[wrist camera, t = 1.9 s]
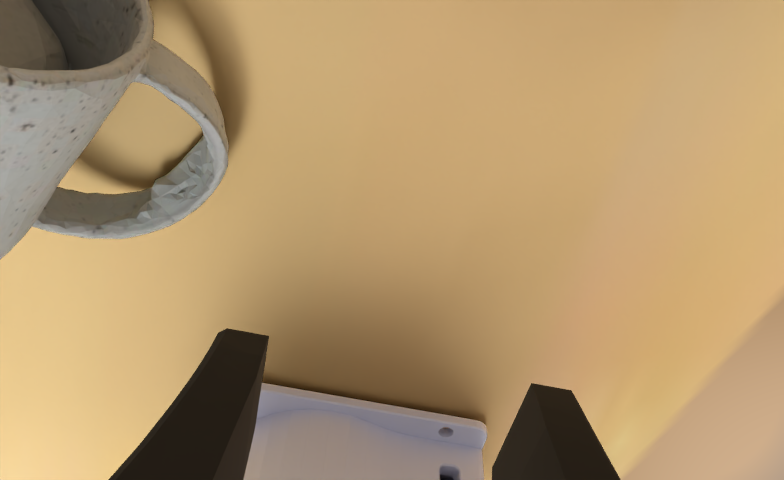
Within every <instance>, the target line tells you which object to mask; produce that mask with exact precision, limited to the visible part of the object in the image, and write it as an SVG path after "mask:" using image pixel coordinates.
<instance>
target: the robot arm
mask: <svg viewBox="0 0 784 480" xmlns="http://www.w3.org/2000/svg"><path fill="white" fill-rule="evenodd" d="M268 339H269V336H266V335H260V334H255V333H249V332H244V331H238V330H233V329H225V330H223V331H221V332H219V333H218V334H217V336H216V338H215V340H214V342H213V344H212V346H211V347H210V349H209V351H208V352H207V354H206V355H205V357H204V359H203V360H202V362H201V363H200V365H199V366H198V368H197V369H196V371H195V372H194V374H193V375H192V377H191V378H190V380H189V381H188V382H187V384H186V385H185V387H184V388H183V389H182V391H181V392H180V394H179V395H178V396H177V398H176V399H175V400H174V402H173V403H172V404H171V406H170V407H169V408H168V409H167V411H166V412H165V413H164V414H163V416H162V417H161V418H160V419H159V421H158V422H157V423H156V425H155V426H154V427H153V428H152V430H151V431H150V432H149V433H148V435H147V436H146V437H145V438H144V440H143V441H142V442H141V443H140V445H139V446H138V447H137V448H136V449H135V450H134V452H133V453H132V454H131V455H130V456H129V457H128V458H127V460H126V461H125V462H124V463H123V464H122V465H121V466H120V467H119V469H118V470H117V471H116V472H115V473H114V474H113V475H112V476H111V478H110V479H109V480H484V470H483V456H482V449H483V446H484V444H485V442H486V439H487V427H486V425H485V424H484V423H482V422H481V421H477V420H473V419H467V418H461V417H456V416H450V415H444V414H439V413H433V412H427V411H421V410H416V409H410V408H404V407H398V406H393V405H387V404H381V403H376V402H370V401H364V400H358V399H353V398H347V397H341V396H335V395H330V394H324V393H318V392H313V391H307V390H301V389H295V388H290V387H284V386H278V385H272V384H267V383H262V379H263V372H264V366H265V359H266V352H267V345H268ZM446 427H448V428H446ZM492 480H620V478H619V476H618V474H617V472H616V471H615V469H614V467H613V465H612V464H611V462H610V460H609V458H608V456H607V455H606V453H605V451H604V449H603V447H602V445H601V444H600V442H599V440H598V438H597V436H596V435H595V433H594V431H593V429H592V427H591V425H590V423H589V422H588V420H587V418H586V416H585V414H584V412H583V411H582V409H581V407H580V405H579V403H578V401H577V400H576V398H575V396H574V394H573V393H572V391H571V390H566V389H560V388H555V387H549V386H543V385H538V384H532V383H531V385H530V388H529V390H528V392H527V394H526V396H525V398H524V400H523V403H522V405H521V407H520V409H519V411H518V413H517V416H516V418H515V420H514V422H513V424H512V426H511V428H510V431H509V433H508V435H507V437H506V439H505V441H504V443H503V446H502V448H501V450H500V452H499V454H498V456H497V459H496V461H495V463H494V465H493V467H492Z"/></svg>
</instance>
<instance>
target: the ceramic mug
mask: <svg viewBox="0 0 784 480" xmlns="http://www.w3.org/2000/svg"><path fill="white" fill-rule="evenodd" d="M153 34H154V22H153V17H152V12H151V8H150V5H149V1H148V0H0V259H1V258H2V257H4V256H5V255H6V254H7V253H8V252H9V251H10V250H11V249H12V248H13V247H14V246H15V245H16V244H17V243H18V242H19V241H20V240H21V239H22V238H23V237H24V235H25V234H26V233H27V232H28V230H29V229H30V228H31V226H32V227H36V228H40V229H43V230H46V231H50V232H54V233H59V234H63V235H71V236H77V237H82V238H108V239H124V238H130V237H134V236H139V235H143V234H147V233H151V232H154V231H157V230H160V229H163V228H165V227H168V226H171V225H173V224H174V223H176V222H178V221H180V220H181V219H183V218H185V217H186V216H187V215H188V214H190V213H192V212H193V211H195V210H196V209H197V208H199V207H200V206H201V205H202V204H203V203H204V202H205V201H206V200H207V199H208V197H209V196H210V195H211V194H212V193H213V192H214V190H215V189H216V188H217V186H218V185H219V183H220V182H221V180H222V178H223V176H224V174H225V172H226V169H227V167H228V149H229V145H228V139H227V136H226V133H225V126H224V118H223V115H222V111H221V108H220V106H219V103H218V101H217V99H216V96H215V94H214V92H213V91H212V89H211V88H210V86H209V85H208V83H207V82H206V81H205V79H204V78H203V77H202V76H201V75H200V74H199V73H198V72H197V71H196V70H195V69H193V68H192V67H191V66H190V65H188V64H187V63H186V62H185V61H183V60H182V59H181V58H180V57H178V56H177V55H176V54H174V53H173V52H172V51H170V50H169V49H168V48H166V47H165V46H163V45H162V44H160V43H158V42H157V41H155V40H153ZM132 82H140V83H143V84H147V85H150V86H152V87H154V88H155V89H157V90H158V91H160V92H161V93H163V94H164V95H165V96H166V97H167V98H168V99H169V100H171V101H173V102H174V103H176V104H177V105H179V106H180V107H181V108H182V109H183V110H185V111H186V112H187V113H188V114H189V115H190V116H191V117H193V118H194V119H195V120H196V121H197V122H198V124H199V125H200V126H201V128H202V131H203V134H204V135H203V136H202V138H201V139H200V140H199V142H198V143H197V144H196V145H195V146H194V147H193V148H192V149H191V151H190V152H189V153H188V154H187V155H186V156H185V157H184V158H183V159H182V160H181V161H180V163H179V164H178V165H177V166H176V167H175V168H173V169H172V170H171V171H170V172H169V173H168V174H167V175H165V176H163V177H161V178H158V179H156V180H155V182H154V184H153V186H152V187H151V188H148V189H145V190H142V191H137V192H130V193H123V194H100V193H82V192H78V191H74V190H68V189H63V188H60V187H57V186H58V184H59V183H60V181H61V180H62V179H63V177H64V176H65V174H66V173H67V171H68V170H69V169H70V167H71V166H72V165H73V163H74V162H75V161H76V159H77V158H78V157H79V156H80V154H81V153H82V152H83V150H84V149H85V148H86V146H87V145H88V144H89V142H90V141H91V140H92V138H93V137H94V135H95V134H96V132H97V131H98V129H99V128H100V126H101V125H102V123H103V122H104V120H105V119H106V117H107V116H108V115H109V113H110V112H111V111H112V109H113V108H114V106H115V105H116V104H117V102H118V101H119V99H120V98H121V97H122V95H123V94H124V92H125V91H126V89H127V88H128V86H129V85H130V83H132Z"/></svg>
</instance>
